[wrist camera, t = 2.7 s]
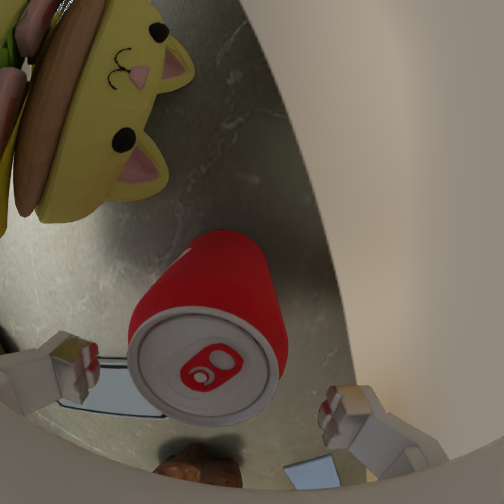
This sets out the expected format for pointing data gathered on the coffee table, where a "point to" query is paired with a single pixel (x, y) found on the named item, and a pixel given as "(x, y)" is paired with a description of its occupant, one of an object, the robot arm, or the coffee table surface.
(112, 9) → the toy
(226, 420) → the beverage can
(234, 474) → the decorative turtle
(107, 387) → the smartphone
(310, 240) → the coffee table surface
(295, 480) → the cloth
